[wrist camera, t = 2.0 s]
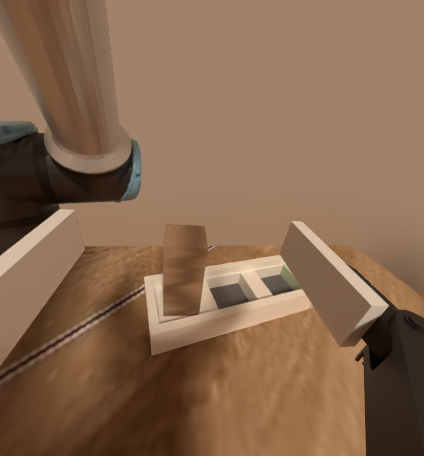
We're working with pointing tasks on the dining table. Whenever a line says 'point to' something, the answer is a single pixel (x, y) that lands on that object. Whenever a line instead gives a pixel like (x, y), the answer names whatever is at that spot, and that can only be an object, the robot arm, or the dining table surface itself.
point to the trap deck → (226, 302)
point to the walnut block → (183, 269)
